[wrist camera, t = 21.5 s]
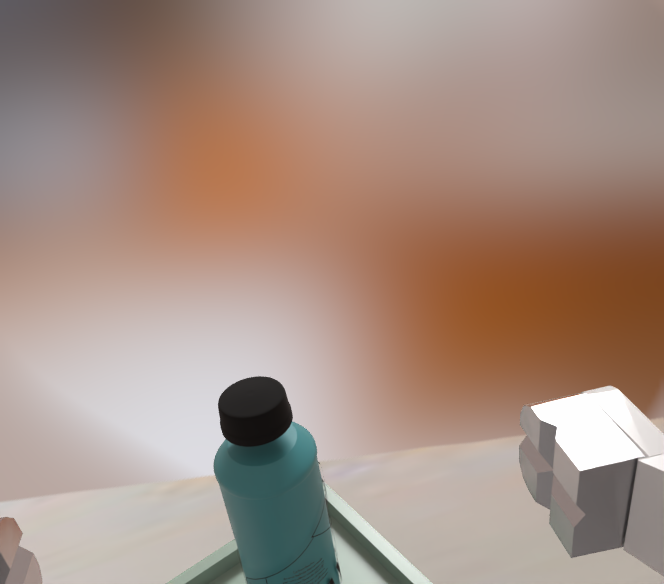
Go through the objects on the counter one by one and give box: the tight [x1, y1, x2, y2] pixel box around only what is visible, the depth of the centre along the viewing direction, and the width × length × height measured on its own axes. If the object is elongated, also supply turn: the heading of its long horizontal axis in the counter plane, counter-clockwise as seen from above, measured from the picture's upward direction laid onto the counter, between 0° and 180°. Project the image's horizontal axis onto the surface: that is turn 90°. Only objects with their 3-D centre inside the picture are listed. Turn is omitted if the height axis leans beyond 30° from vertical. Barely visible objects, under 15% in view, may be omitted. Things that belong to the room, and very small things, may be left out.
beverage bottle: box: [214, 377, 342, 584], centre depth 38 cm, size 6×7×20 cm
